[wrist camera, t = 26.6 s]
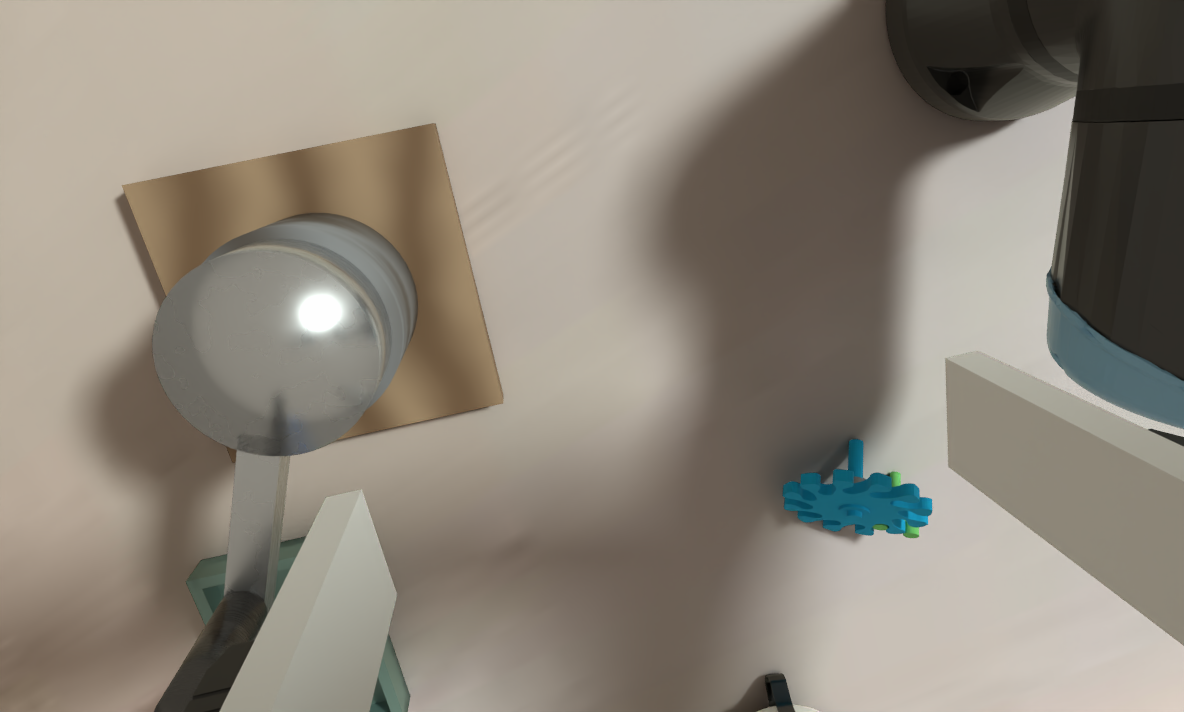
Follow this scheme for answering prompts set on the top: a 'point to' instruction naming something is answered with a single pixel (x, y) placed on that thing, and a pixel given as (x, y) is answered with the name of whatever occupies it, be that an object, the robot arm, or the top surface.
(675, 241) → the top surface
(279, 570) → the tray
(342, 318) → the crank
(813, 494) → the gear
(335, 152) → the stand
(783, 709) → the coffee press
